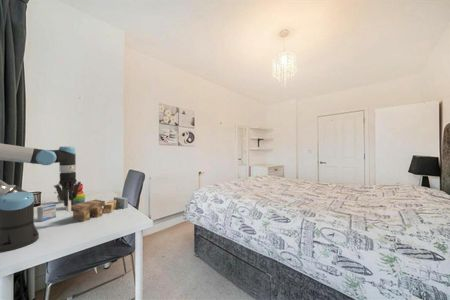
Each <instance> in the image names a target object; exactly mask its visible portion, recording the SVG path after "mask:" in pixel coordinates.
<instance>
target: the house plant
mask: <svg viewBox="0 0 450 300" xmlns="http://www.w3.org/2000/svg"><path fill="white" fill-rule="evenodd" d="M60 188H61V190H62V193H63V187H62V186H61V187H60ZM54 194H57V190H55V191H54ZM56 198H57V202H58V204H64V201H62V200H60V198H59V195H58V194H57V196H56Z"/></svg>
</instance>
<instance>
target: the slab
mask: <svg viewBox="0 0 450 300" xmlns="http://www.w3.org/2000/svg"><path fill="white" fill-rule="evenodd" d="M105 204H106V201H105V200H101V199H93V200H89V201H85V202H83V203H79V204H75V205H71V211H70V212H73V211H74V212H78V213H80V212H83V211H87V210H91V209H94V208H98V207H103V206H105Z"/></svg>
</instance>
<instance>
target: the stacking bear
mask: <svg viewBox="0 0 450 300" xmlns="http://www.w3.org/2000/svg"><path fill="white" fill-rule="evenodd" d="M74 186H75V184H74V185H73V190H74ZM83 189H84V186H83V183H81V184H80V185H79V188H78V192H77V196H76V198H74V199H73V204H72V205H75V204H79V203H83V202H86V194H85V192H84V191H83Z"/></svg>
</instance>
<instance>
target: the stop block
mask: <svg viewBox="0 0 450 300" xmlns="http://www.w3.org/2000/svg"><path fill="white" fill-rule="evenodd" d="M113 200H117V208H121V209H126V208H129V203H128V202H129V201H128V197H123V196H114V197H113Z"/></svg>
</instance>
